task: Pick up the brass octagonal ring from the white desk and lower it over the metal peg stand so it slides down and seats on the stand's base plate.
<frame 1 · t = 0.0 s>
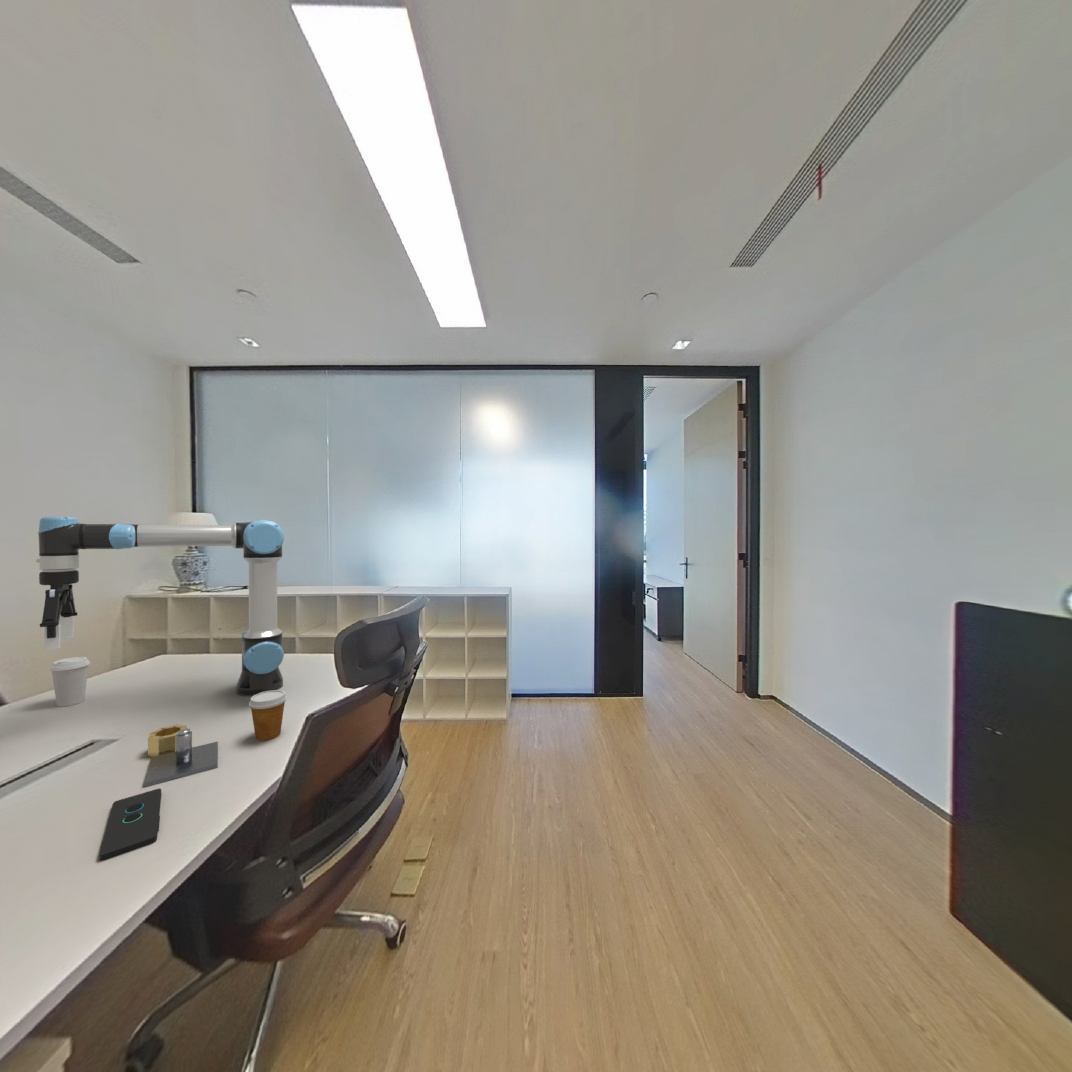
hand: (60, 643, 121), 28 cm above the table, fingers open, 13 cm apart
coffee cup: (70, 703, 146), on the table
metal peg stand: (184, 764, 110), on the table
ring: (168, 749, 117), on the table
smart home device: (133, 826, 88), on the table
disposable coffee cup: (268, 736, 125), on the table
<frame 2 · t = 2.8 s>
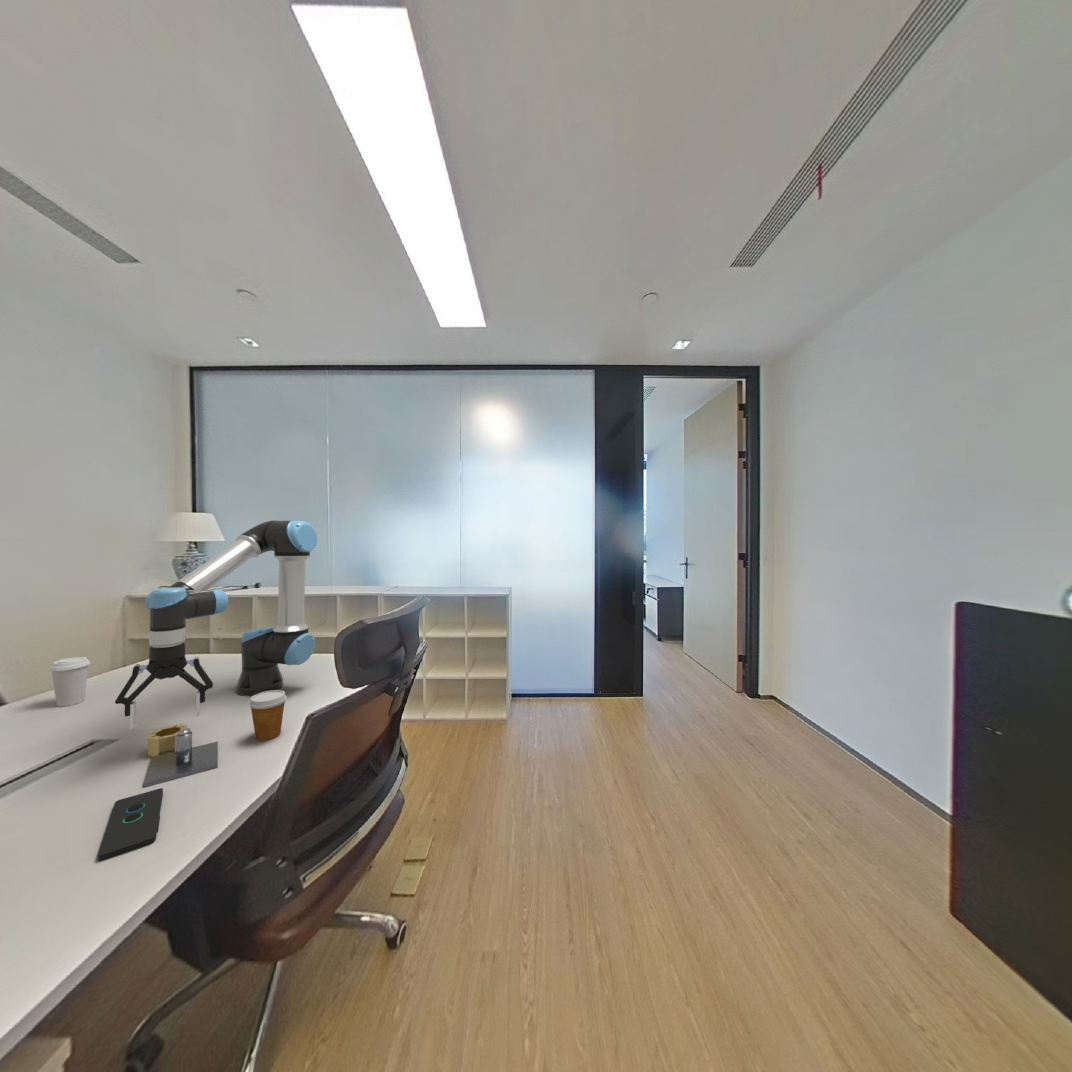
hand: (166, 720, 116), 8 cm above the table, fingers open, 13 cm apart
nothing on the table moved.
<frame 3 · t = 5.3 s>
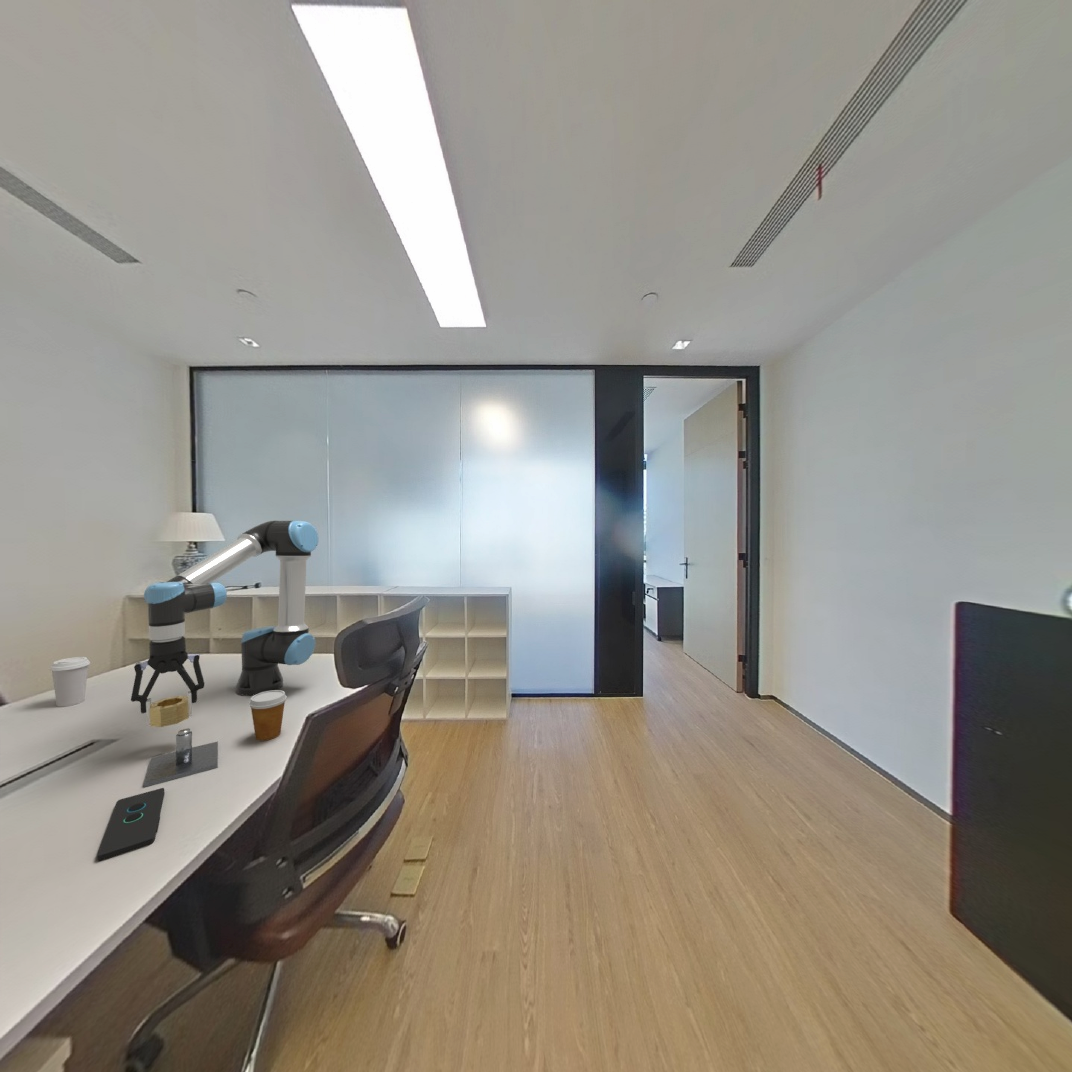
hand: (170, 718, 117), 8 cm above the table, fingers closed on ring, 8 cm apart
ring: (170, 719, 117), point 8 cm above the table, touching gripper
everything else where it was.
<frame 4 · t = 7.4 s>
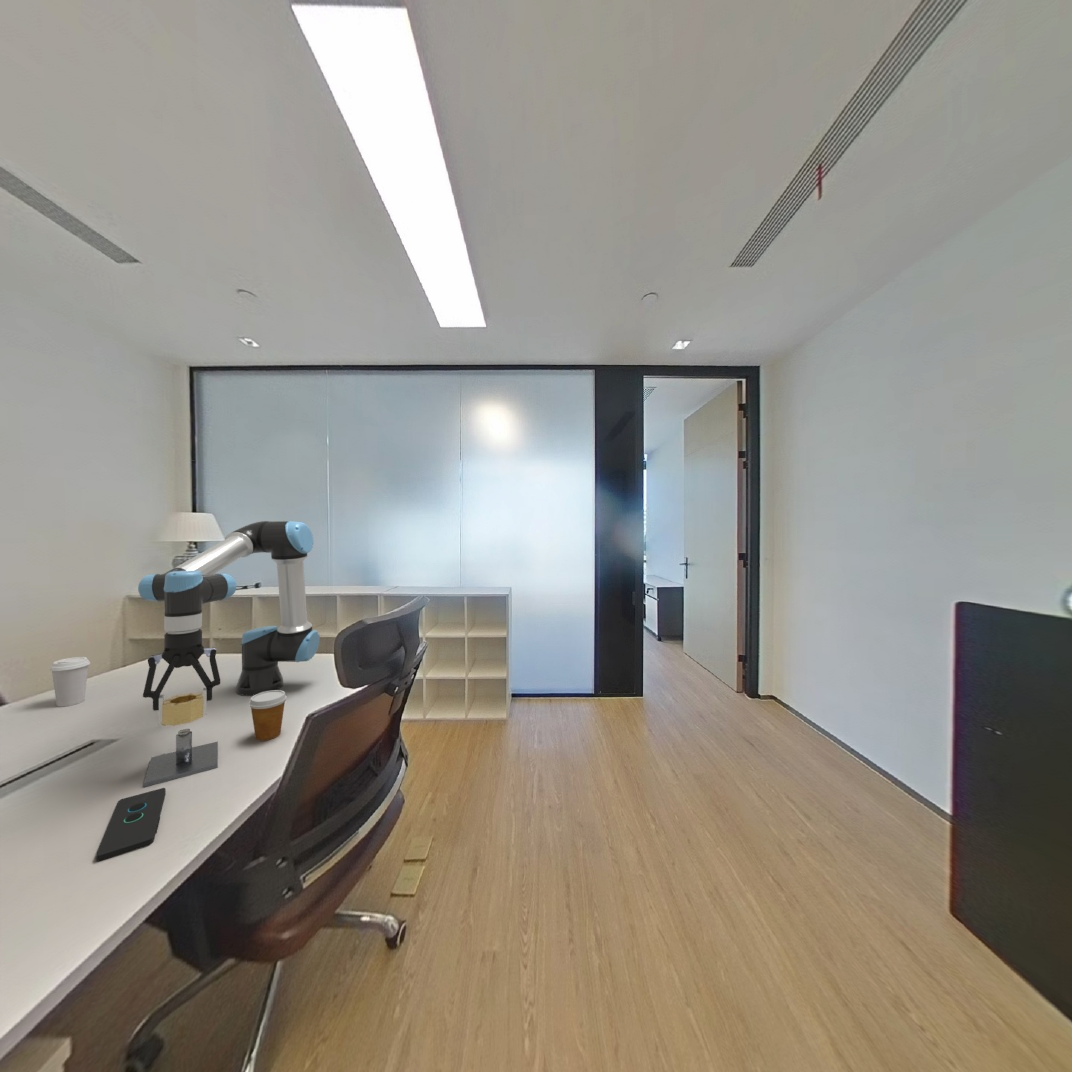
hand: (183, 717, 109), 12 cm above the table, fingers closed on ring, 8 cm apart
ring: (183, 718, 109), point 12 cm above the table, touching gripper
everything else where it was.
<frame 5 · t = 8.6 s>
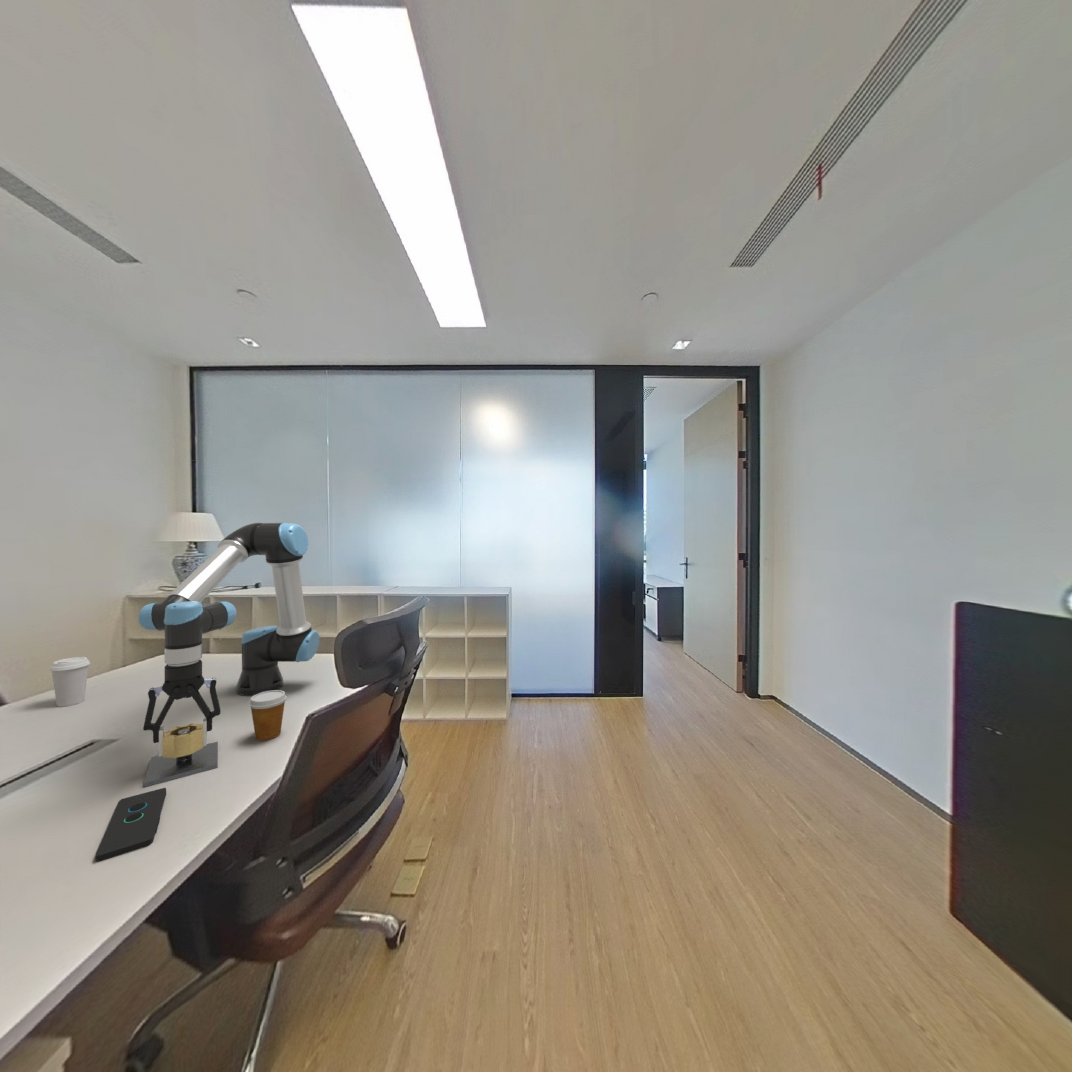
hand: (183, 748, 109), 4 cm above the table, fingers closed on ring, 8 cm apart
ring: (183, 749, 109), point 4 cm above the table, touching gripper
everything else where it was.
when the fingers open (2 cm above the table, at t = 9.5 s): ring stays where it is, resting on metal peg stand.
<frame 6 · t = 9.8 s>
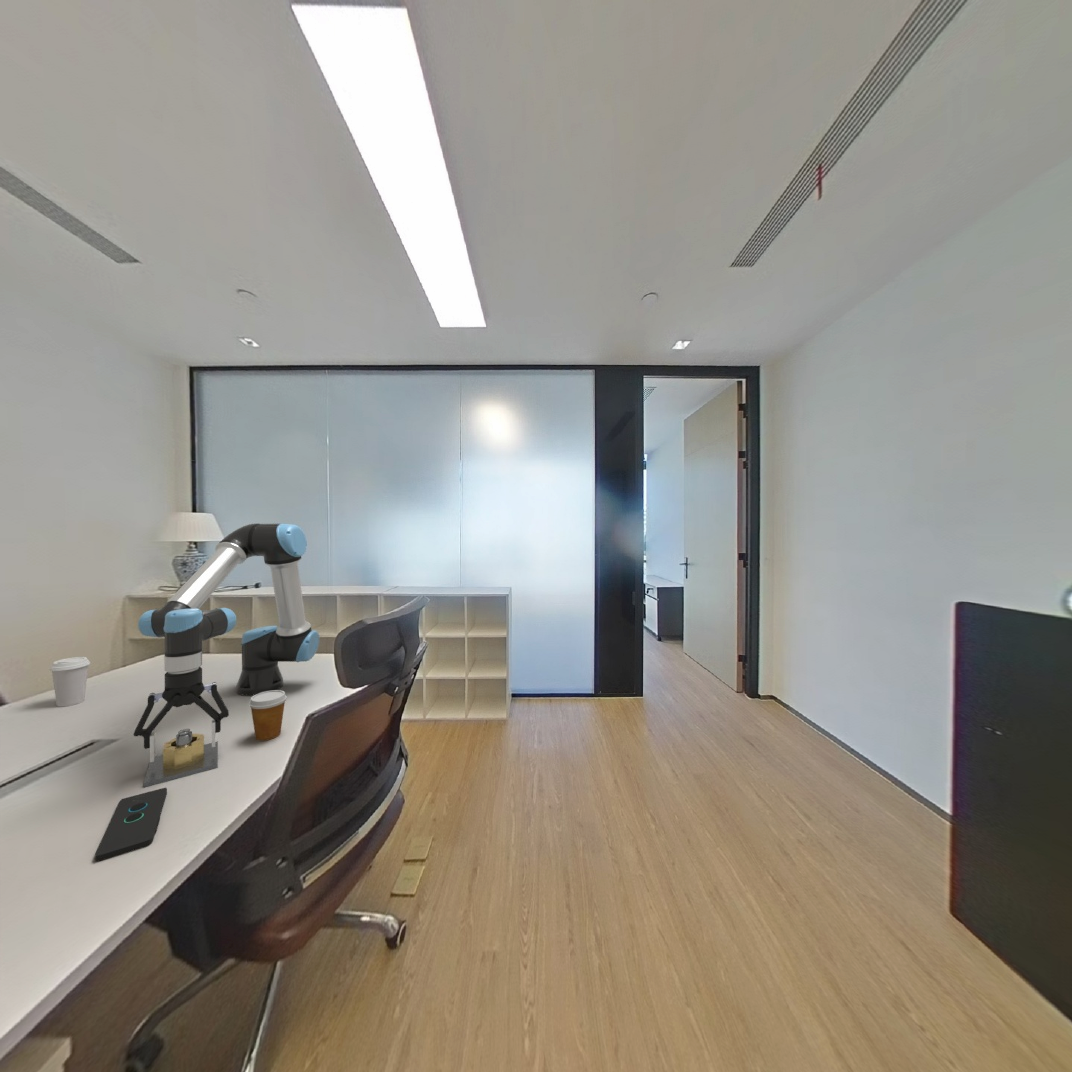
hand: (184, 752, 109), 3 cm above the table, fingers open, 11 cm apart
ring: (184, 760, 110), point 1 cm above the table, touching metal peg stand
everything else where it was.
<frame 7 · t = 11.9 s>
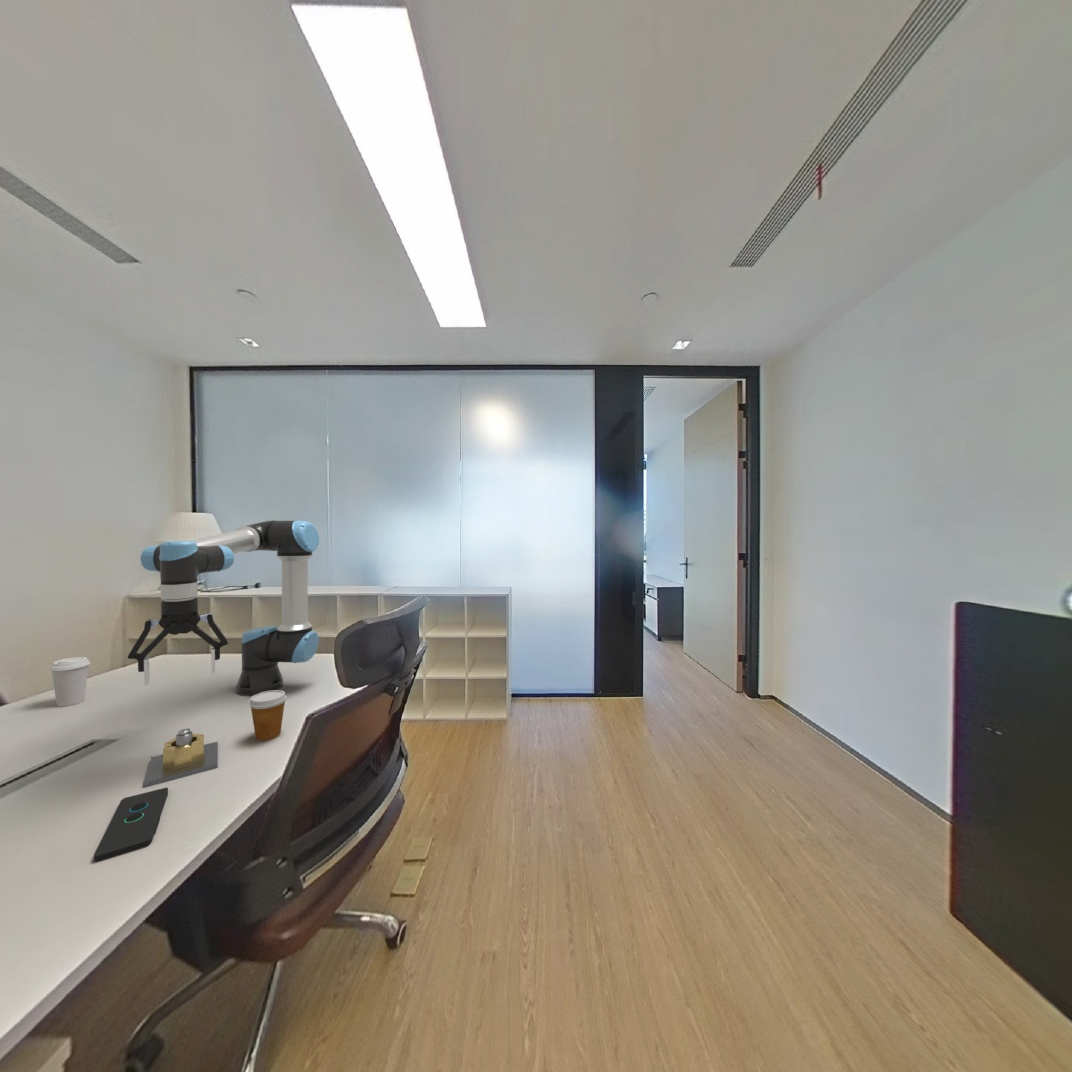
hand: (181, 677, 112), 22 cm above the table, fingers open, 13 cm apart
nothing on the table moved.
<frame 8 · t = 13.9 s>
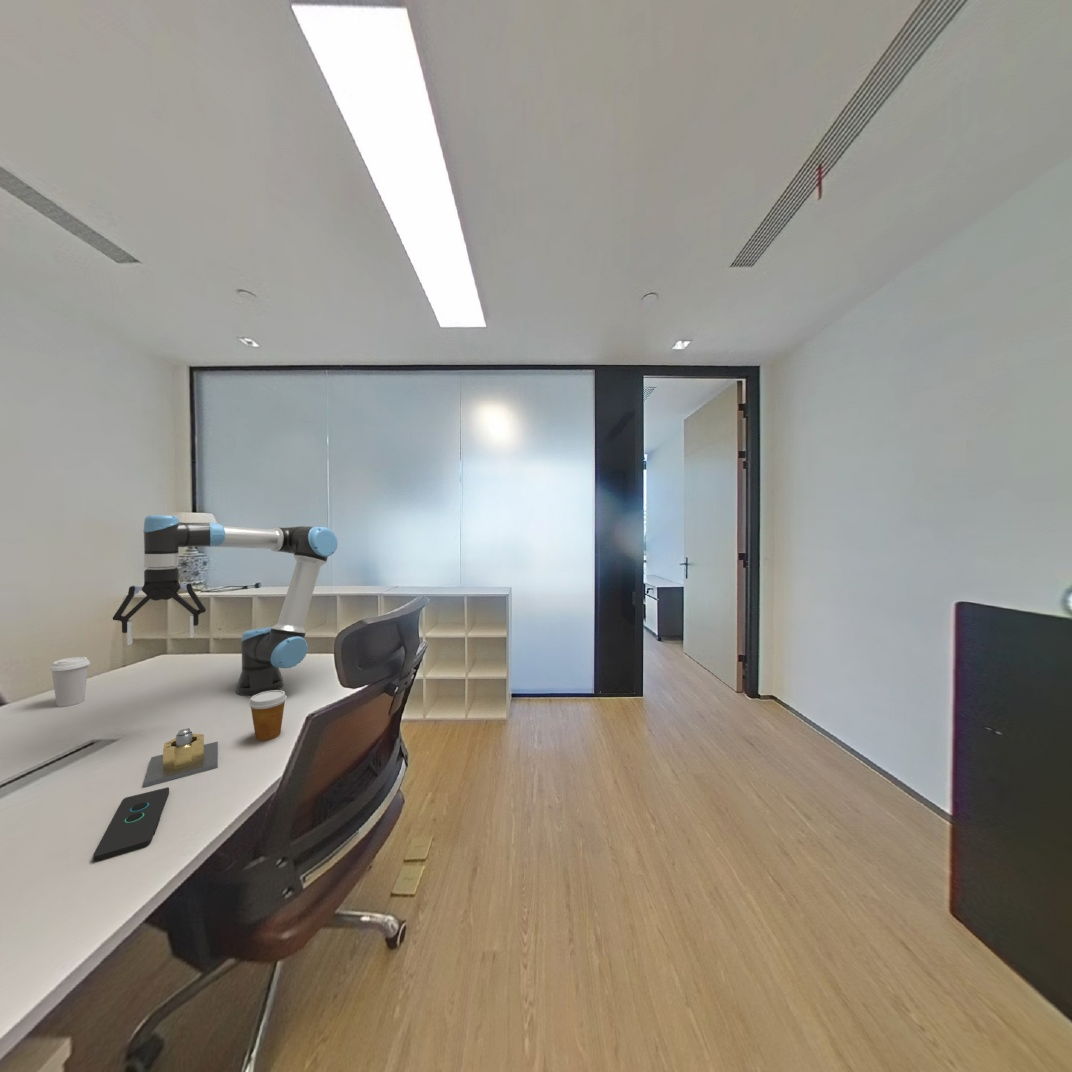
hand: (162, 640, 123), 29 cm above the table, fingers open, 13 cm apart
nothing on the table moved.
at the end: ring 0.0 cm off-centre on the metal peg stand, point 1.0 cm above the metal peg stand's base; the gripper is holding nothing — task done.
